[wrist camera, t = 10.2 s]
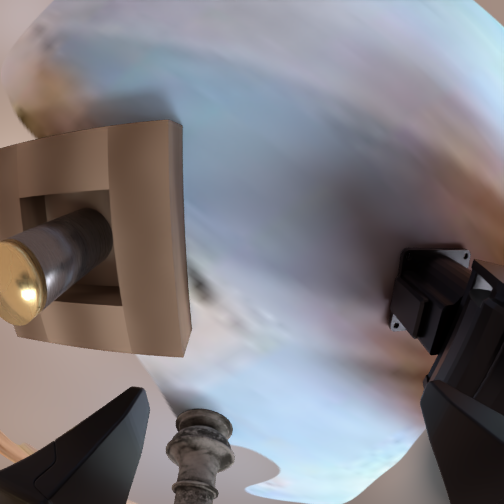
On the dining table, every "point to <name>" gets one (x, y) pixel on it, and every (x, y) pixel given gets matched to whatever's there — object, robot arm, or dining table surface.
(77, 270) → the battery cell
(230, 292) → the dining table surface
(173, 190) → the holder block
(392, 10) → the dining table surface
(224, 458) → the weathered candle holder
